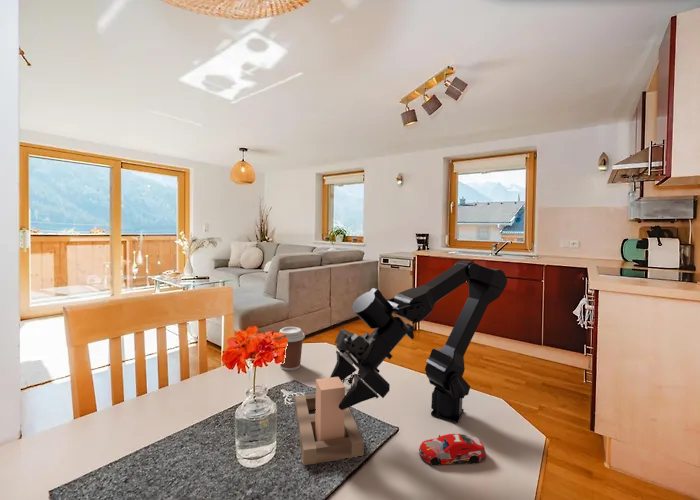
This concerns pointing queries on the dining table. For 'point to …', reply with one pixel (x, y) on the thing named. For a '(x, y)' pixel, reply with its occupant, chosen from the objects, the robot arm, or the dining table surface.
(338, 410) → the block
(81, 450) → the dining table surface
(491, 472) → the dining table surface
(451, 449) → the race car
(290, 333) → the coffee cup
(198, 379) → the dining table surface
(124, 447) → the dining table surface
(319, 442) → the puzzle board
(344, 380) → the creature
